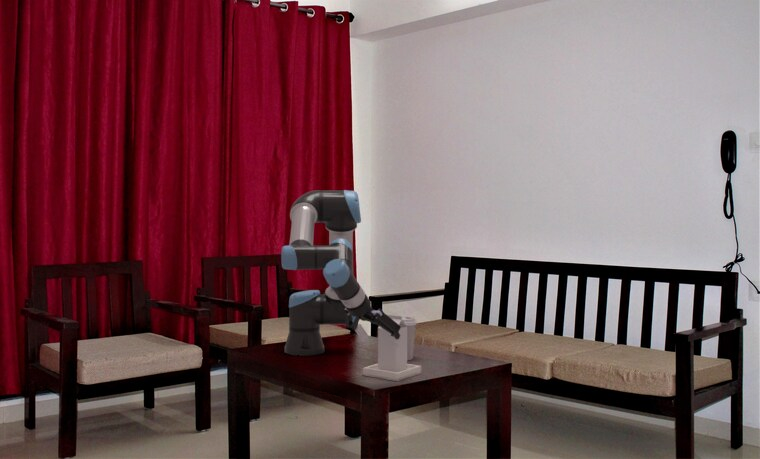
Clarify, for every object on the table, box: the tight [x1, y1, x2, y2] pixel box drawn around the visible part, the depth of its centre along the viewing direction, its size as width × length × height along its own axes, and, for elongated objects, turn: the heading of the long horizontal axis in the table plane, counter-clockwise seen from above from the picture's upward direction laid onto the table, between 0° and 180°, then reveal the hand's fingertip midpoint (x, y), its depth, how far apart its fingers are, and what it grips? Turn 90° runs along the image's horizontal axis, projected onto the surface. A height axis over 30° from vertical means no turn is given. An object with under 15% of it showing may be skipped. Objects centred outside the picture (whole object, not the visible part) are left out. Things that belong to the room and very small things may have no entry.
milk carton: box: [377, 314, 408, 373], centre depth 247 cm, size 7×7×19 cm
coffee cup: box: [401, 315, 418, 361], centre depth 272 cm, size 10×10×15 cm
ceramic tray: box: [362, 363, 422, 382], centre depth 247 cm, size 14×14×2 cm
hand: (382, 341), depth 242 cm, fingers open, 13 cm apart
